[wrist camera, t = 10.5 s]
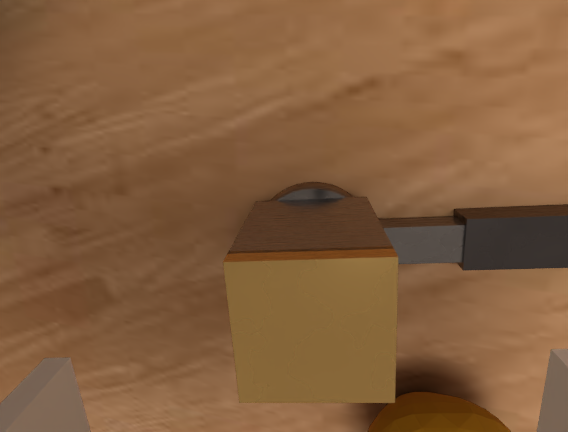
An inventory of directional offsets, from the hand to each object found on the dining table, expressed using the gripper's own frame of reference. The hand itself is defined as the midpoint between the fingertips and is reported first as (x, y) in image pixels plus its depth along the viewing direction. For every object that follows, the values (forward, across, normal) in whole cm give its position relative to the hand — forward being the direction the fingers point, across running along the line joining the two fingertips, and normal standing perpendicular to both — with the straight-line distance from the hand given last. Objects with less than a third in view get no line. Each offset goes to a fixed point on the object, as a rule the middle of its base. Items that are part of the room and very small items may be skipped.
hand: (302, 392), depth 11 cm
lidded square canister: (+12, 0, -1) cm, 12 cm away
